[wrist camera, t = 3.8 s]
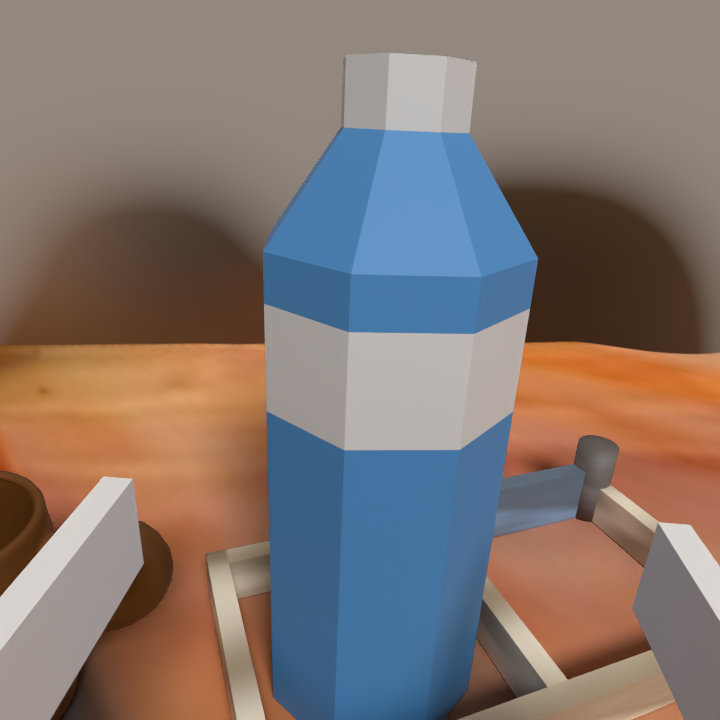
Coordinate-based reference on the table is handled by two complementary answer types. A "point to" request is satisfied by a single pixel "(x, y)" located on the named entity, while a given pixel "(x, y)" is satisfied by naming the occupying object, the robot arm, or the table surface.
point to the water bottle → (389, 397)
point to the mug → (34, 529)
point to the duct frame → (491, 603)
